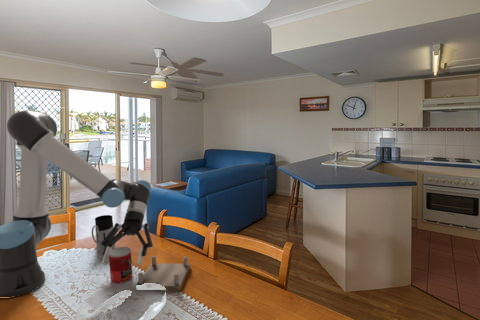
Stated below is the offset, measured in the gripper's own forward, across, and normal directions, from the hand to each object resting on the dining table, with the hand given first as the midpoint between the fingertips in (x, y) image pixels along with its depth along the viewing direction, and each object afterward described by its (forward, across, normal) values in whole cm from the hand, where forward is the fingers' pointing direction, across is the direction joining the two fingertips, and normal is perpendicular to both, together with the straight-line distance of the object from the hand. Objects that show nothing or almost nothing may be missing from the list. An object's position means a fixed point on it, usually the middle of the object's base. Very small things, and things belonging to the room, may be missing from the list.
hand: (121, 264), depth 106 cm
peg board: (+4, -16, -4) cm, 17 cm away
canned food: (+4, +1, -5) cm, 6 cm away
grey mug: (-13, +21, -22) cm, 33 cm away
